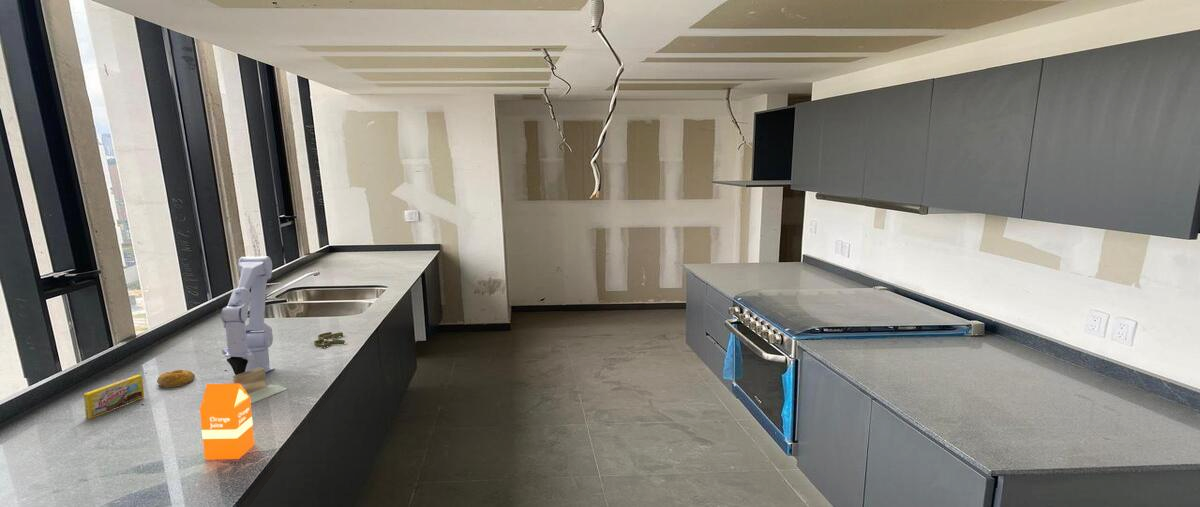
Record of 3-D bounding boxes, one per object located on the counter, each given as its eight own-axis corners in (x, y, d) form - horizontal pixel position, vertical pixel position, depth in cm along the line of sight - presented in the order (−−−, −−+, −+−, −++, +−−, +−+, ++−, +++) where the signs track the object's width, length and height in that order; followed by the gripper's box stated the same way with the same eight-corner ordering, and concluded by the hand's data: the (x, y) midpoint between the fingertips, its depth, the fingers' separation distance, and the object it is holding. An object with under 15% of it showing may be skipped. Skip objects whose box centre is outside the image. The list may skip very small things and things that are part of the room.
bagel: (201, 379, 195) (200, 367, 194) (167, 391, 185) (165, 378, 184) (185, 375, 199) (184, 363, 198) (151, 386, 189) (149, 373, 188)
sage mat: (235, 399, 179) (235, 398, 179) (272, 385, 191) (272, 384, 191) (250, 403, 176) (250, 403, 176) (287, 389, 188) (287, 388, 188)
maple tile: (234, 395, 183) (232, 376, 181) (260, 385, 191) (258, 367, 190) (240, 397, 181) (238, 377, 180) (266, 387, 190) (264, 368, 188)
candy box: (91, 419, 163) (87, 394, 162) (85, 419, 164) (81, 393, 163) (145, 397, 179) (142, 374, 178) (140, 397, 180) (137, 373, 178)
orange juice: (222, 444, 151) (215, 378, 148) (254, 444, 152) (249, 377, 148) (204, 460, 143) (196, 389, 140) (238, 459, 144) (232, 389, 141)
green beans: (345, 346, 234) (345, 342, 234) (314, 350, 228) (314, 345, 228) (343, 334, 250) (342, 330, 249) (314, 338, 244) (314, 333, 244)
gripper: (211, 339, 184) (215, 376, 187) (238, 346, 179) (241, 384, 181) (232, 334, 191) (235, 369, 193) (259, 340, 185) (262, 377, 187)
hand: (240, 376), depth 187 cm, fingers closed
